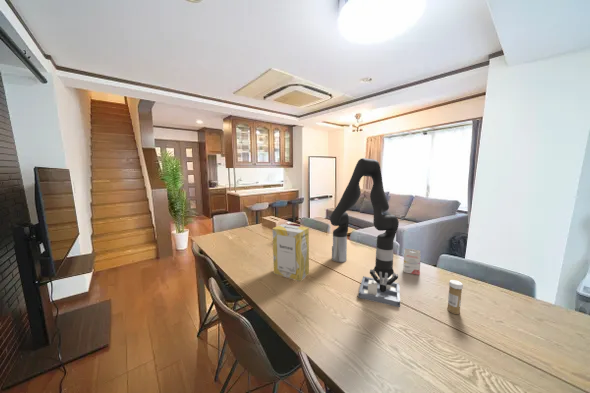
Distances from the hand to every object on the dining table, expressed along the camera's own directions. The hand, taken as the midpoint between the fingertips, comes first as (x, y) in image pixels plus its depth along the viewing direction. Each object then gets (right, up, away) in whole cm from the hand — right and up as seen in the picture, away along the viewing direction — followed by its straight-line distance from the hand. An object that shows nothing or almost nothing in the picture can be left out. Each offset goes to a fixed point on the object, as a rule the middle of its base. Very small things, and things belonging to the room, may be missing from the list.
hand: (382, 291), depth 101 cm
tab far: (+5, -1, +7) cm, 9 cm away
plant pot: (-44, +7, +83) cm, 94 cm away
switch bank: (0, -3, +5) cm, 6 cm away
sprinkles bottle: (+27, -5, -9) cm, 29 cm away
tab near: (-4, -2, +2) cm, 5 cm away
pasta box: (-44, -1, +25) cm, 51 cm away
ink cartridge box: (+27, 0, +25) cm, 37 cm away
